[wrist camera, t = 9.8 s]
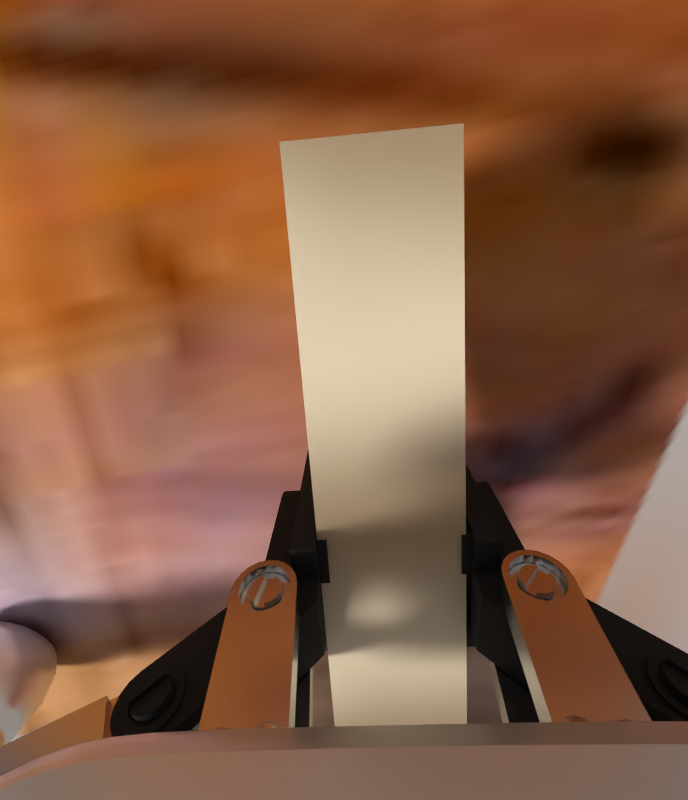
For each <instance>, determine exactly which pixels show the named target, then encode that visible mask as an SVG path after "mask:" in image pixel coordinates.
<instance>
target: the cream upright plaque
mask: <svg viewBox="0 0 688 800" xmlns="http://www.w3.org/2000/svg"><path fill="white" fill-rule="evenodd" d="M280 152H281V163H282V173H283V184H284V194H285V205H286V216H287V226H288V237H289V247H290V258H291V269H292V279H293V290H294V300H295V311H296V321H297V332H298V343H299V353H300V364H301V374H302V385H303V396H304V406H305V417H306V427H307V438H308V448H309V459H310V470H311V480H312V491H313V501H314V512H315V523H316V533H317V540H327V551H328V563H329V574H330V583H322V584H321V586H322V597H323V607H324V618H325V628H326V639H327V650H328V651H325V655H324V656H323V657H322V658H321V659H320V660H319V661H318V662H317V663H316V664H315V665H314V666H313V727H334V726H378V725H426V724H479V723H502V719H501V715H500V710H499V706H498V702H497V698H496V694H495V689H494V685H493V681H492V677H491V672H490V668H489V661H488V658H486V657H485V656H484V655H482V654H481V653H480V652H478V651H477V650H476V647H467V640H466V574H462V564H461V535H466V451H465V262H464V123H463V124H453V125H443V126H433V127H423V128H413V129H403V130H393V131H383V132H373V133H363V134H353V135H343V136H333V137H324V138H314V139H304V140H294V141H284V142H280Z"/></svg>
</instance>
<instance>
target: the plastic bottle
mask: <svg viewBox="0 0 688 800" xmlns="http://www.w3.org/2000/svg"><path fill="white" fill-rule="evenodd" d="M56 666H57V654H56V650H55V649H54V647H53V645H52V644H51V643H50V642H49V641H48V640H47V639H46V638H44V637H43V636H42V635H40V634H39V633H37V632H36V631H34V630H32V629H29V628H27V627H25V626H22V625H19V624H14V623H10V622H0V747H1V746H4V745H6V744H8V743H9V742H10V741H11V740H12V739H13V738H14V737H15V735H16V734H17V733H18V732H19V731H20V730H21V729H22V727H23V726H24V725H25V724H26V722H27V721H28V720H29V719H30V717H31V716H32V715H33V713H34V712H35V711H36V710H37V708H38V707H39V706H40V704H41V703H42V702H43V700H44V698H45V695H46V693H47V691H48V689H49V687H50V685H51V683H52V681H53V679H54V677H55V674H56Z"/></svg>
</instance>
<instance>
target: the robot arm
mask: <svg viewBox="0 0 688 800" xmlns="http://www.w3.org/2000/svg"><path fill="white" fill-rule="evenodd" d="M461 564H462V574H466V640H467V647H476V650H477V651H478V652H480V653H481V654H482V655H484V656H485V657H486V658H488V661H489V668H490V672H491V677H492V681H493V685H494V689H495V694H496V698H497V702H498V706H499V710H500V715H501V719H502V723H479V724H426V725H378V726H334V727H313V666H314V665H315V664H316V663H317V662H318V661H319V660H320V659H321V658H322V657H323V656H324V655H325V651H328V650H327V639H326V628H325V618H324V607H323V597H322V586H321V584H322V583H330V574H329V563H328V551H327V540H317V533H316V523H315V512H314V501H313V491H312V480H311V470H310V459H309V449H308V454H307V459H306V464H305V469H304V475H303V480H302V485H301V490H300V491H285V492H284V493H283V495H282V498H281V502H280V506H279V510H278V514H277V518H276V522H275V526H274V530H273V533H272V537H271V541H270V545H269V549H268V553H267V557H266V561H263V562H259V563H257V564H255V565H252V566H250V567H249V568H248V569H246V570H245V571H244V572H243V573H241V575H240V576H239V577H238V578H237V580H236V581H235V583H234V585H233V588H232V590H231V594H230V599H229V603H228V607H226V608H225V609H224V610H222V611H221V612H220V613H218V614H217V615H216V616H214V617H213V618H212V619H210V620H209V621H208V622H206V623H205V624H204V625H202V626H201V627H200V628H198V629H197V630H196V631H194V632H193V633H192V634H190V635H189V636H188V637H186V638H185V639H184V640H182V641H181V642H180V643H178V644H177V645H176V646H174V647H173V648H172V649H170V650H169V651H168V652H166V653H165V654H164V655H162V656H161V657H160V658H158V659H157V660H156V661H154V662H153V663H152V664H150V665H149V666H148V667H146V668H145V669H144V670H142V671H141V672H140V673H139V674H138V675H137V676H136V677H134V678H133V679H132V680H131V681H130V682H129V683H128V685H127V686H126V687H125V689H124V690H123V691H122V693H121V694H120V696H118V697H116V698H114V699H112V700H109V698H108V697H107V696H105V697H103V698H101V699H99V700H97V701H95V702H93V703H91V704H88V705H86V706H84V707H82V708H80V709H78V710H76V711H74V712H72V713H70V714H68V715H66V716H64V717H62V718H59V719H57V720H55V721H53V722H51V723H49V724H47V725H45V726H43V727H41V728H39V729H37V730H35V731H33V732H30V733H28V734H26V735H24V736H22V737H20V738H18V739H16V740H14V741H12V742H10V743H8V744H6V745H4V746H1V747H0V800H688V654H687V653H685V652H683V651H682V650H680V649H678V648H676V647H674V646H673V645H671V644H669V643H667V642H665V641H663V640H661V639H660V638H658V637H656V636H654V635H652V634H650V633H649V632H647V631H645V630H643V629H641V628H639V627H638V626H636V625H634V624H632V623H630V622H628V621H627V620H625V619H623V618H621V617H619V616H617V615H615V614H614V613H612V612H610V611H608V610H606V609H604V608H603V607H601V606H599V605H597V604H595V603H594V602H592V601H590V600H588V599H586V598H585V597H584V595H583V593H582V591H581V589H580V587H579V586H578V584H577V582H576V580H575V578H574V577H573V575H572V574H571V573H570V571H569V570H568V569H567V568H566V567H565V566H564V565H563V564H562V563H561V562H559V561H558V560H556V559H554V558H553V557H551V556H549V555H547V554H544V553H541V552H538V551H533V550H525V549H524V547H523V545H522V544H521V542H520V540H519V538H518V536H517V534H516V533H515V531H514V529H513V527H512V525H511V523H510V522H509V520H508V518H507V516H506V514H505V512H504V510H503V509H502V507H501V505H500V503H499V501H498V499H497V498H496V496H495V494H494V492H493V490H492V488H491V487H490V485H489V484H488V483H487V482H486V481H483V482H475V481H474V479H473V477H472V475H471V473H470V471H469V469H468V467H467V465H466V535H461Z"/></svg>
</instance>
